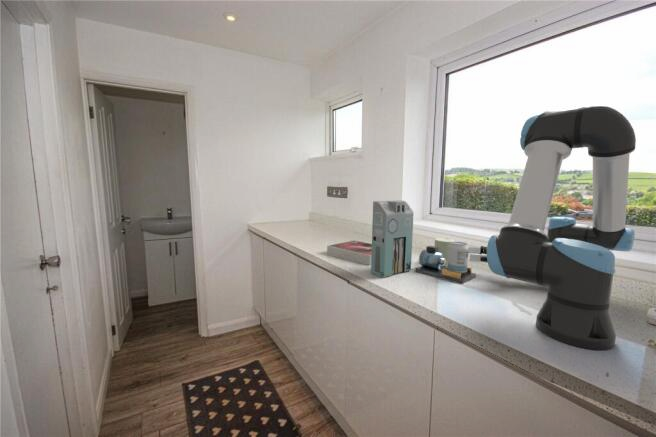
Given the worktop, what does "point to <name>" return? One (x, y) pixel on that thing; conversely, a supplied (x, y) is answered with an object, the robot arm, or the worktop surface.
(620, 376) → the worktop surface
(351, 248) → the product packaging
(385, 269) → the device
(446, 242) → the can
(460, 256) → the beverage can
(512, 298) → the worktop surface
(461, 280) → the motor
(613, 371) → the worktop surface
